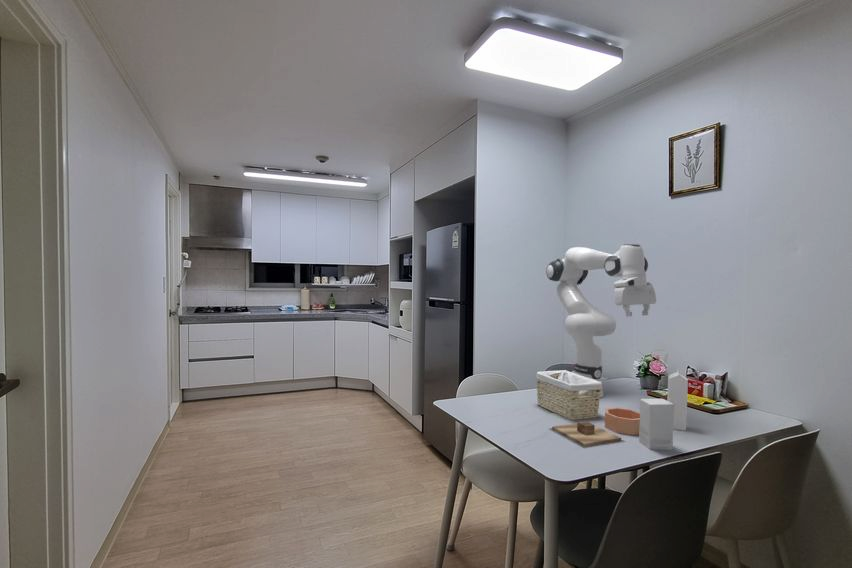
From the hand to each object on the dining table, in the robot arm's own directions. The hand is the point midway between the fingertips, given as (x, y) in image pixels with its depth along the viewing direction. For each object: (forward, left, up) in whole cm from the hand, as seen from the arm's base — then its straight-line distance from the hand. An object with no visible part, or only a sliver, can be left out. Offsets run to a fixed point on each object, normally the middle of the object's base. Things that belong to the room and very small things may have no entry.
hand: (637, 315), depth 171 cm
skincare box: (+27, -21, -41) cm, 54 cm away
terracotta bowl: (+12, -18, -41) cm, 46 cm away
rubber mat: (+13, -37, -41) cm, 57 cm away
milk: (+16, +4, -41) cm, 44 cm away
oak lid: (+13, -37, -40) cm, 56 cm away
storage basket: (-12, -24, -41) cm, 49 cm away
